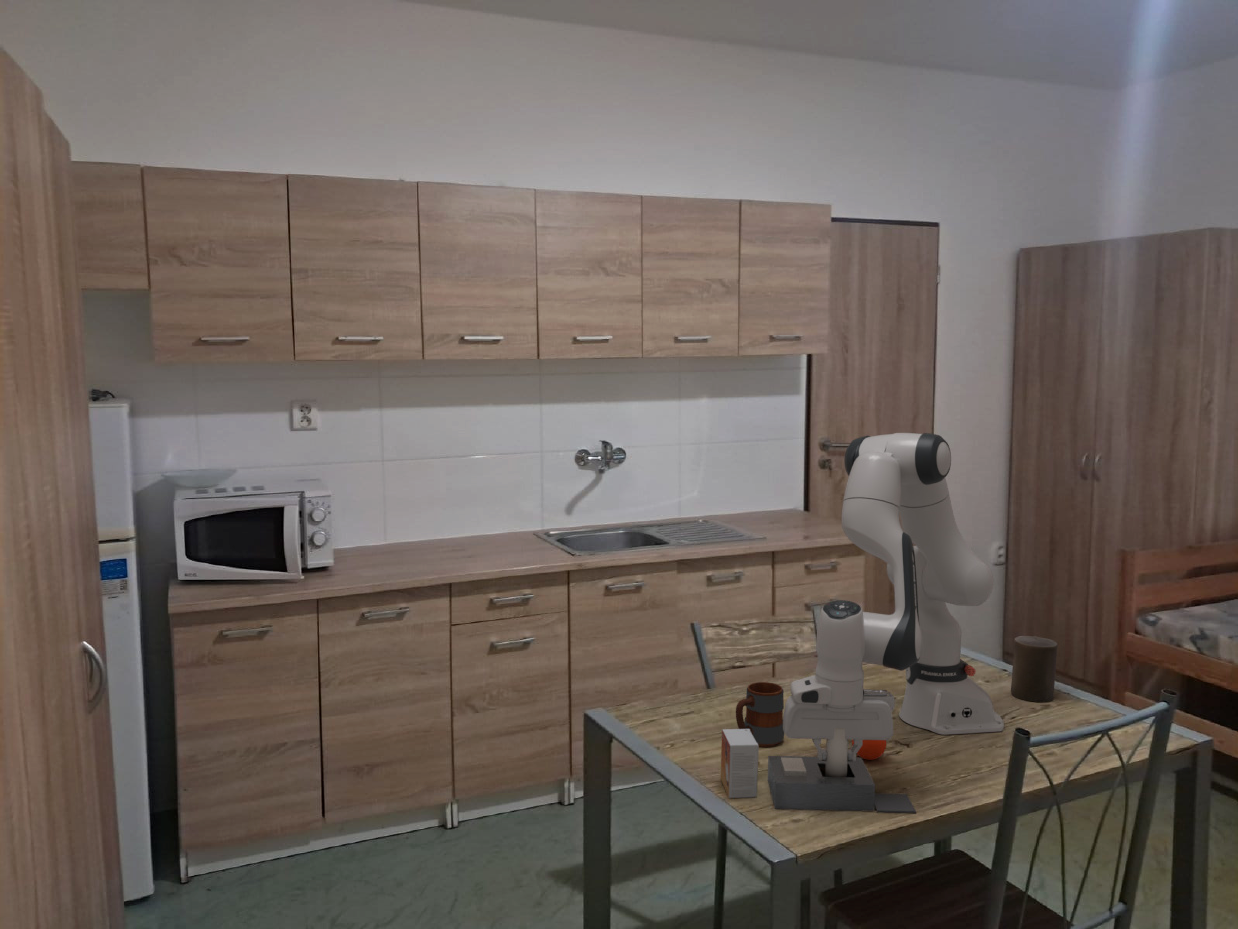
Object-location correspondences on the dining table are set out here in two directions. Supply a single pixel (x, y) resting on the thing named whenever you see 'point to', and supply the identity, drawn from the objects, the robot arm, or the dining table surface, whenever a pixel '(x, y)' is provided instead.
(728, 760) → the small box
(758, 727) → the mug
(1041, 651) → the pillar candle
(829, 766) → the white cylinder
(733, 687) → the dining table surface
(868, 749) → the clementine
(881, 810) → the mat
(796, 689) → the robot arm
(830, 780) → the panel
